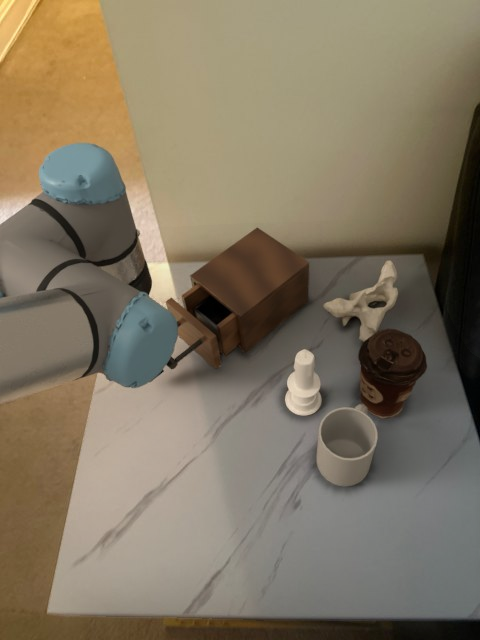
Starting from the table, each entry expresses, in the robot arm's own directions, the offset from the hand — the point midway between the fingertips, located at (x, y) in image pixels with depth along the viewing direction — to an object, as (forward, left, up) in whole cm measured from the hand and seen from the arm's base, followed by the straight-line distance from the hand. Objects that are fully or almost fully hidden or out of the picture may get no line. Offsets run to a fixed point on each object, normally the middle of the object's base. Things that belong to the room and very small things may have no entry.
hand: (153, 374), depth 85 cm
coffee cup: (+22, -26, -3) cm, 34 cm away
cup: (+12, -28, -3) cm, 30 cm away
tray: (+14, 0, -1) cm, 14 cm away
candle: (+14, -18, -3) cm, 23 cm away
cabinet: (+21, 0, -3) cm, 21 cm away
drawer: (+11, 0, -2) cm, 11 cm away
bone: (+32, -14, -3) cm, 35 cm away
